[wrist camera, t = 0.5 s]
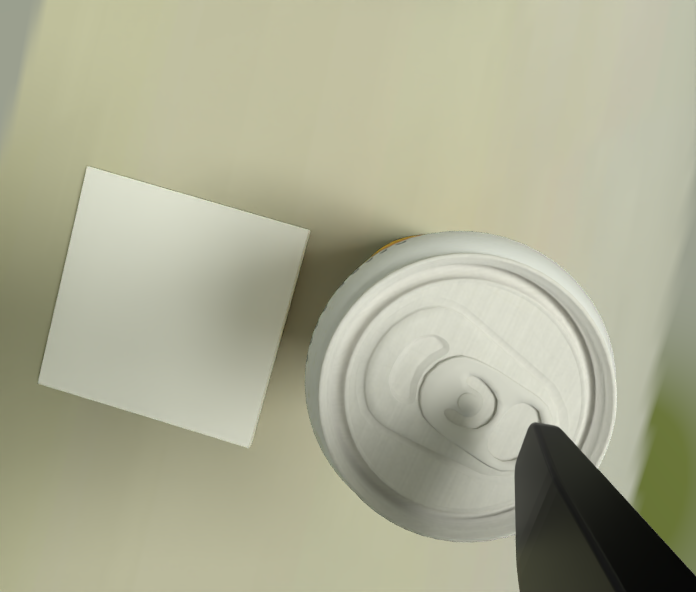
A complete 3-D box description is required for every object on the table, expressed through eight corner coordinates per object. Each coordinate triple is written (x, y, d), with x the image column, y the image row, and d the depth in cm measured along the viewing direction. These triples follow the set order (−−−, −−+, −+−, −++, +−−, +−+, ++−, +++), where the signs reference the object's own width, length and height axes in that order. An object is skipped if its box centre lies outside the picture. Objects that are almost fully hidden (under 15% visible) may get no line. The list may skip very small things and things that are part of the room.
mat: (251, 443, 26) (248, 448, 26) (45, 380, 27) (37, 383, 26) (310, 230, 25) (308, 229, 25) (94, 167, 26) (87, 166, 25)
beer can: (400, 208, 25) (417, 162, 10) (520, 285, 25) (713, 356, 10) (324, 325, 26) (233, 444, 11) (440, 400, 26) (509, 626, 11)
